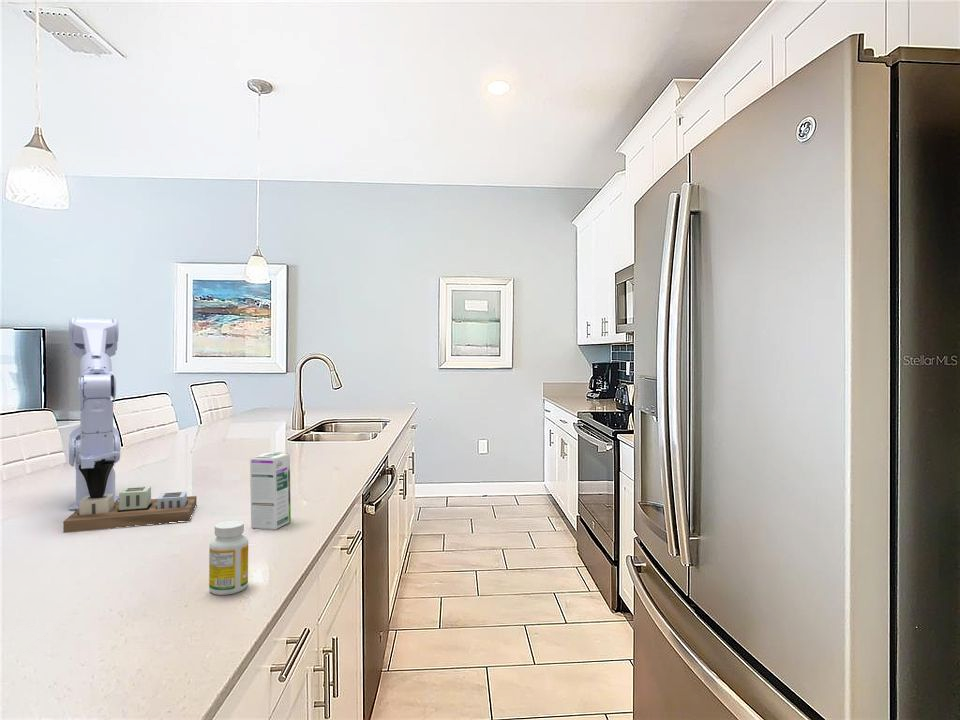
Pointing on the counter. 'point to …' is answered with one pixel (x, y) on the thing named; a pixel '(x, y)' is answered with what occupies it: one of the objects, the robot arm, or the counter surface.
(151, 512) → the frame
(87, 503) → the tile one
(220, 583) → the supplement bottle
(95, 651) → the counter surface
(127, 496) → the tile two
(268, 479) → the syrup box
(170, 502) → the tile three
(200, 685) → the counter surface
